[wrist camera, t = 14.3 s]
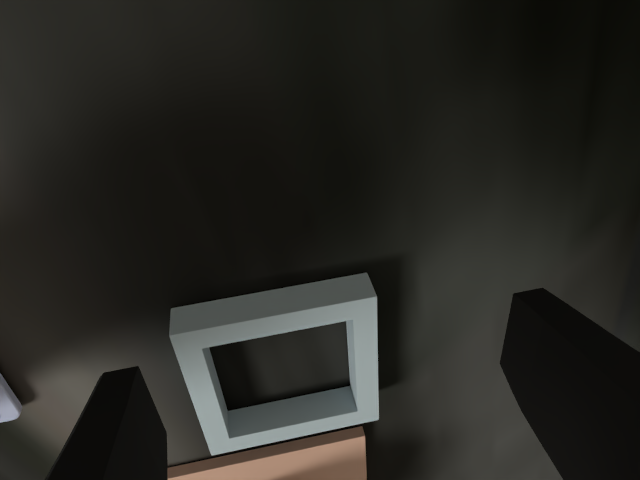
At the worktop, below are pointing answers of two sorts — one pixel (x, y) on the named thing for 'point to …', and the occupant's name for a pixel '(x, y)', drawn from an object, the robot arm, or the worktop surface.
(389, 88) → the worktop surface
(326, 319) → the holder
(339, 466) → the mat
